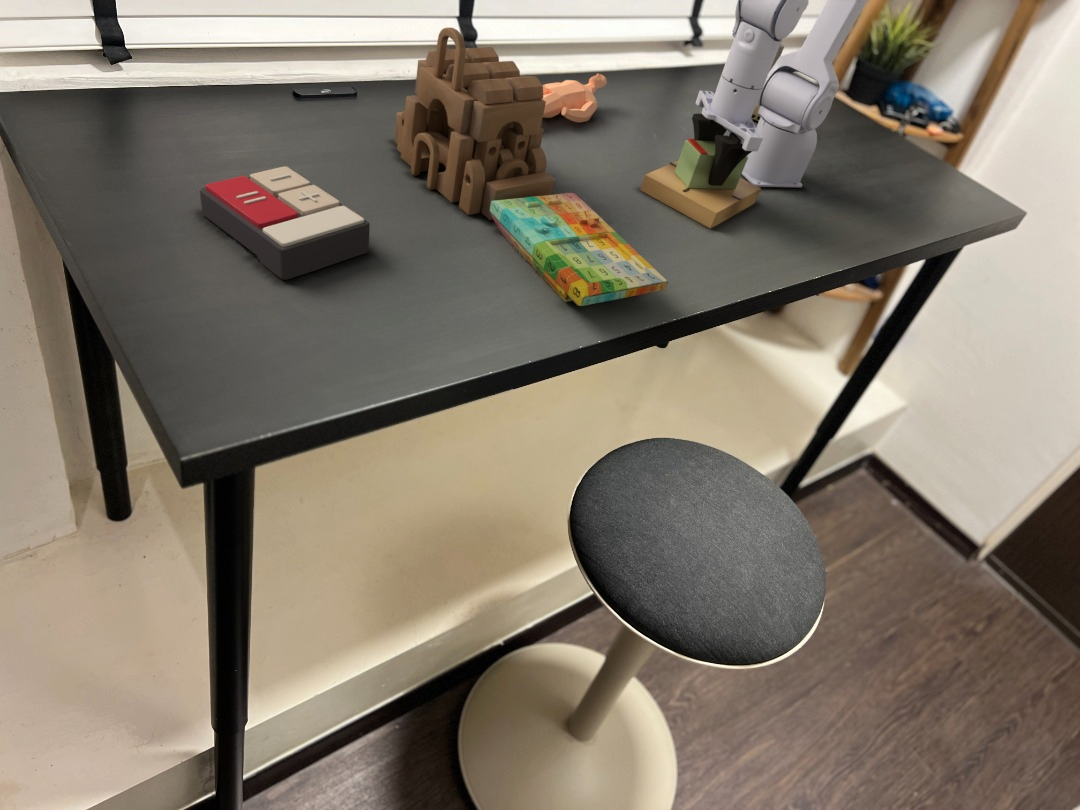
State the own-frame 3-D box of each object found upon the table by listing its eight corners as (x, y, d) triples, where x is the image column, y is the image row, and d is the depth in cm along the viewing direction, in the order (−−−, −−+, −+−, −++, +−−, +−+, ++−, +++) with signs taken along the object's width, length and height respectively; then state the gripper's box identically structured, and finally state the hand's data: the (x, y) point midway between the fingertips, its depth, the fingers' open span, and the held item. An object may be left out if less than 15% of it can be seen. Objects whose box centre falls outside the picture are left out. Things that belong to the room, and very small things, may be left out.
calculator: (287, 161, 89) (371, 216, 83) (288, 196, 92) (370, 252, 85) (196, 181, 82) (281, 243, 75) (201, 218, 85) (283, 281, 78)
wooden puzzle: (560, 207, 103) (596, 63, 90) (470, 226, 94) (496, 70, 82) (464, 132, 113) (485, -5, 101) (376, 144, 105) (387, -5, 93)
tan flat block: (687, 168, 121) (693, 152, 119) (755, 203, 116) (762, 187, 114) (639, 190, 111) (644, 172, 110) (711, 229, 107) (717, 212, 105)
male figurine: (471, 88, 117) (582, 58, 131) (468, 120, 121) (576, 87, 135) (520, 118, 113) (629, 84, 127) (516, 150, 116) (623, 113, 130)
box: (720, 174, 115) (733, 140, 112) (735, 189, 112) (749, 155, 109) (674, 172, 112) (685, 137, 109) (688, 188, 109) (700, 153, 106)
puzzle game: (573, 185, 97) (670, 274, 86) (564, 218, 100) (657, 309, 89) (492, 193, 91) (585, 290, 80) (485, 228, 94) (574, 326, 83)
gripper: (691, 56, 106) (661, 150, 115) (744, 102, 96) (706, 200, 105) (734, 61, 109) (701, 152, 117) (790, 105, 99) (749, 201, 108)
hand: (706, 175), depth 112 cm, fingers closed on box, 4 cm apart
